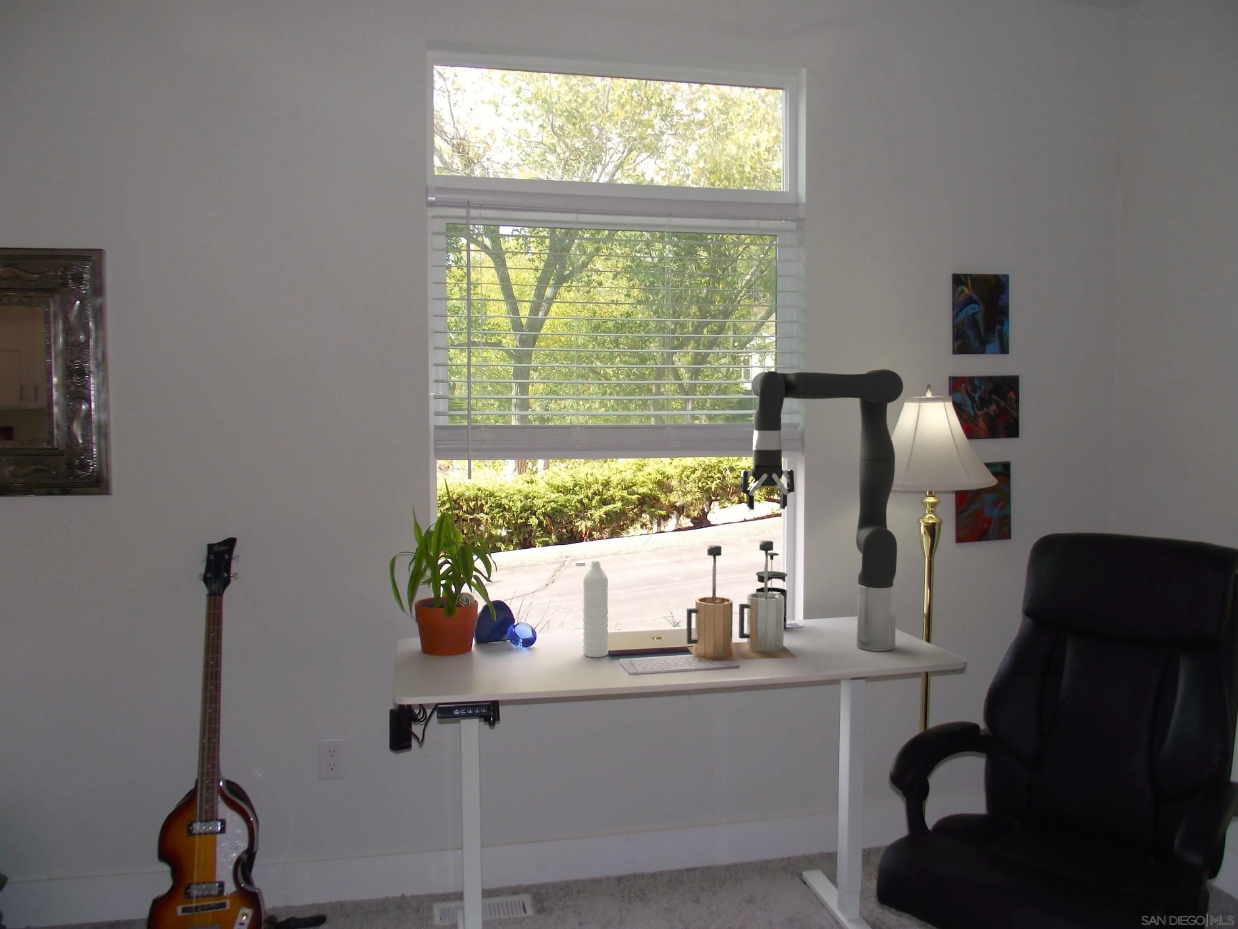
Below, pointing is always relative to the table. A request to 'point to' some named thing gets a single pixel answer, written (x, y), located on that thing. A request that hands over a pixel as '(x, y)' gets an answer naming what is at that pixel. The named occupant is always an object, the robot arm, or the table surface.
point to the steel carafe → (763, 622)
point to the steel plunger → (766, 565)
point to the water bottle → (595, 611)
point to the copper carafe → (711, 627)
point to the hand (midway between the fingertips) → (766, 509)
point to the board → (745, 653)
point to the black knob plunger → (714, 568)
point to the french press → (771, 589)
